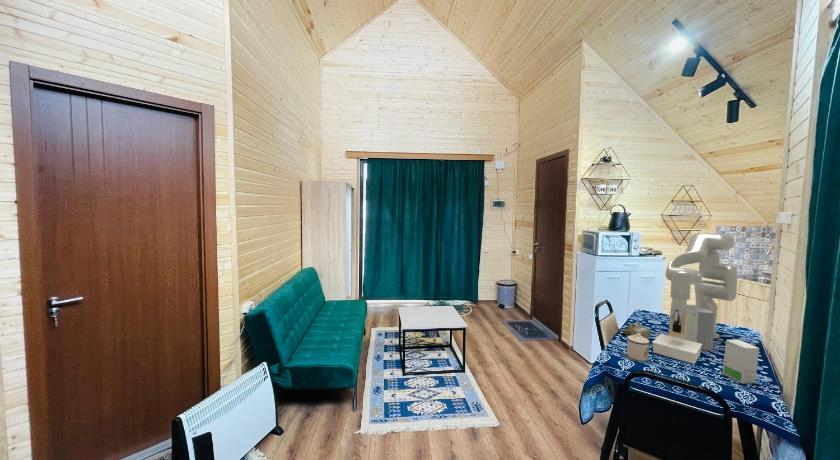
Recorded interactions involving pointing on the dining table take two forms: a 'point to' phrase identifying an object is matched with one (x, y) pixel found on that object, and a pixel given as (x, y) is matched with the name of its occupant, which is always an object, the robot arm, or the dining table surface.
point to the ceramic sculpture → (637, 330)
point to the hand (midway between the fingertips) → (677, 330)
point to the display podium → (677, 348)
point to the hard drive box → (700, 326)
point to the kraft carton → (683, 327)
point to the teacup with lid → (637, 347)
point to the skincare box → (740, 361)
